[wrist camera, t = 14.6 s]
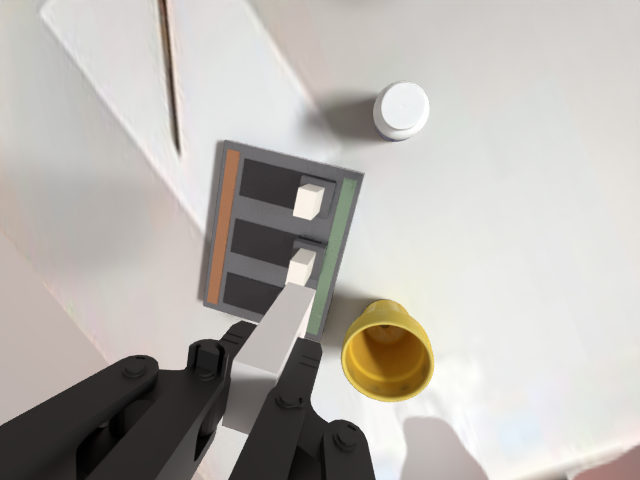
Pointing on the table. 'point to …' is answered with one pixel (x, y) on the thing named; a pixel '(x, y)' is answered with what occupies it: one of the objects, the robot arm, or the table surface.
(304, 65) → the table surface
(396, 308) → the plant pot
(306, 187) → the block
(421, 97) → the pill bottle
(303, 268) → the breaker mid
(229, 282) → the panel
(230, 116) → the table surface
